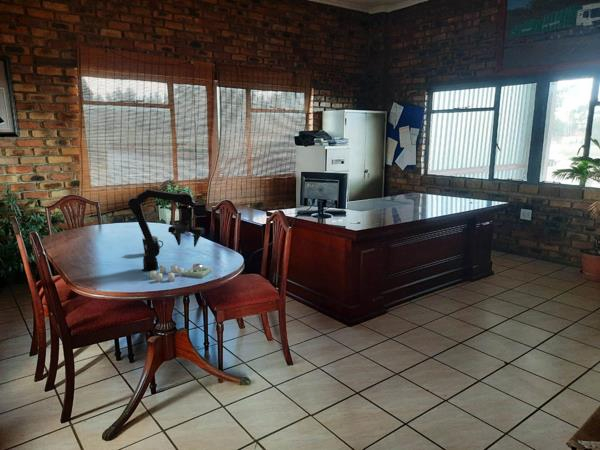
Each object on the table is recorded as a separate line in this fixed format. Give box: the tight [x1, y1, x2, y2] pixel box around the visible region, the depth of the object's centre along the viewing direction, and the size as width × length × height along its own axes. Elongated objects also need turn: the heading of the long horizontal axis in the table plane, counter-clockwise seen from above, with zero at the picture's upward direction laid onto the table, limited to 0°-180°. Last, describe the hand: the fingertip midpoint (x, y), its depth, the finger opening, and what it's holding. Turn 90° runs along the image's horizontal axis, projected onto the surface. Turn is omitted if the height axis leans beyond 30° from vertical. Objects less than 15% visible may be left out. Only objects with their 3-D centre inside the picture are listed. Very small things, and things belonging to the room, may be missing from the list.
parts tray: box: [184, 266, 212, 279], centre depth 228 cm, size 10×10×2 cm
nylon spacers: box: [149, 264, 185, 283], centre depth 222 cm, size 13×17×4 cm
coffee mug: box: [142, 235, 164, 253], centre depth 259 cm, size 12×9×10 cm
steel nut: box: [192, 263, 204, 273], centre depth 227 cm, size 5×5×4 cm
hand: (187, 245), depth 236 cm, fingers open, 9 cm apart
